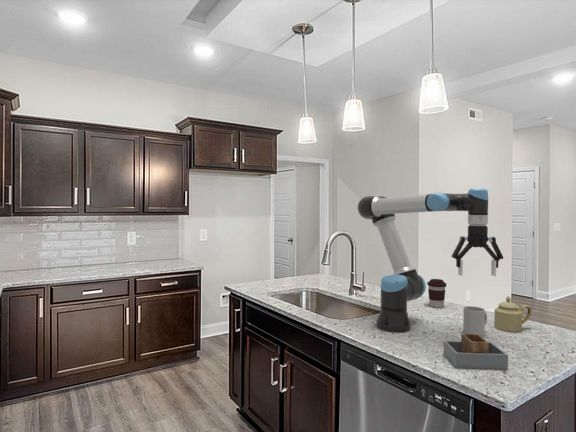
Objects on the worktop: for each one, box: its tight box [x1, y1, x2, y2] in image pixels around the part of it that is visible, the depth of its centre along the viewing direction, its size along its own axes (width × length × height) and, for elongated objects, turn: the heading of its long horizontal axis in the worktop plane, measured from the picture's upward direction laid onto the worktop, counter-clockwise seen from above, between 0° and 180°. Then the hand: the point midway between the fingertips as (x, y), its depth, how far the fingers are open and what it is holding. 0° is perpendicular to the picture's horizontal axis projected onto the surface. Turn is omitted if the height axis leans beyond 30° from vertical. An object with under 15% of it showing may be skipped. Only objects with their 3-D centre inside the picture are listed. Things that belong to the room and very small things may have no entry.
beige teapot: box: [493, 295, 532, 333], centre depth 176 cm, size 15×11×15 cm
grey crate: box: [443, 340, 509, 370], centre depth 138 cm, size 17×12×5 cm
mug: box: [462, 305, 488, 337], centre depth 169 cm, size 12×8×11 cm
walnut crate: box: [460, 333, 490, 354], centre depth 138 cm, size 6×9×8 cm, turn 176°
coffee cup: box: [426, 278, 447, 309], centre depth 214 cm, size 10×10×15 cm
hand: (476, 275), depth 162 cm, fingers open, 13 cm apart
